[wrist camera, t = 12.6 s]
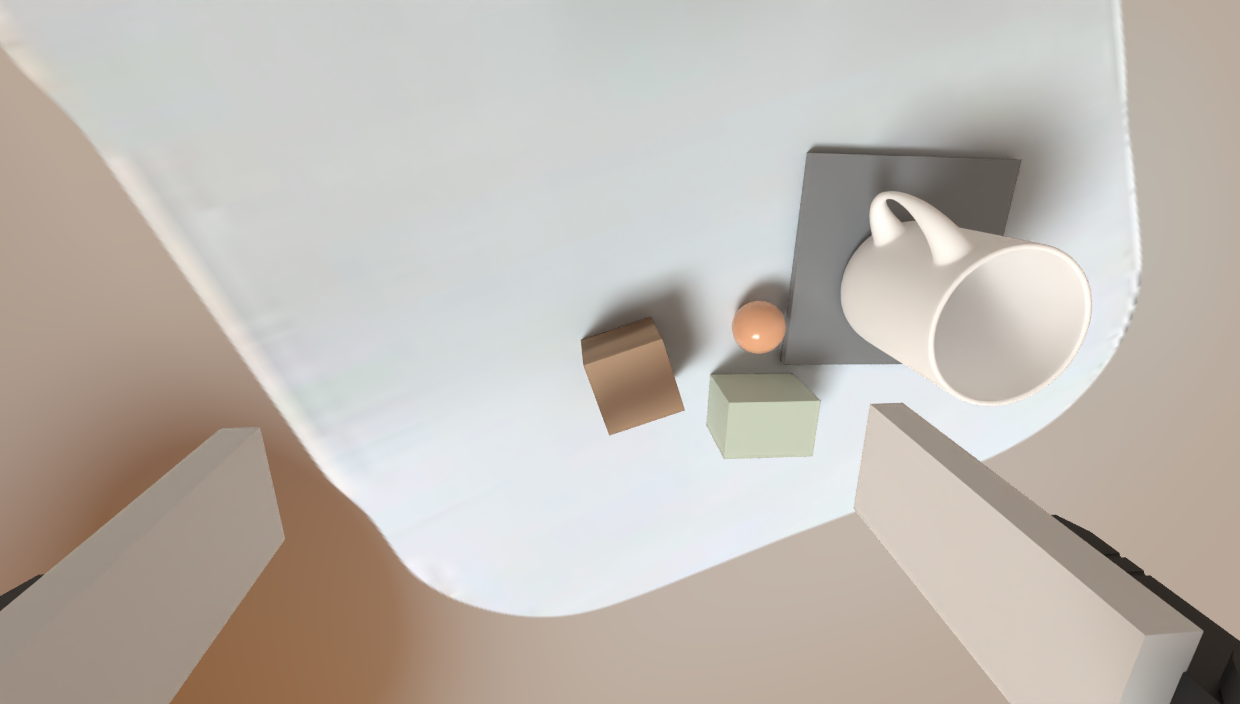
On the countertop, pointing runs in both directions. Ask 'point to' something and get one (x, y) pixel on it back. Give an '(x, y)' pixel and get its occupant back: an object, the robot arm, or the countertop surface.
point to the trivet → (842, 224)
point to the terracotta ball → (758, 327)
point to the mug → (965, 303)
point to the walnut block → (631, 375)
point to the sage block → (762, 415)
